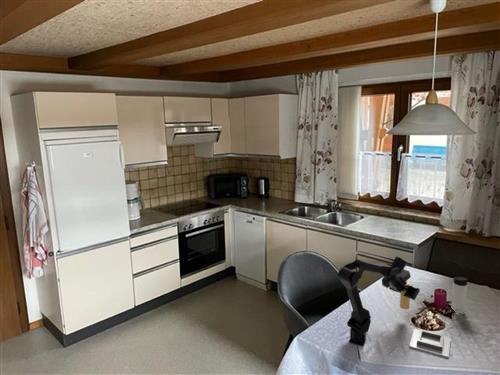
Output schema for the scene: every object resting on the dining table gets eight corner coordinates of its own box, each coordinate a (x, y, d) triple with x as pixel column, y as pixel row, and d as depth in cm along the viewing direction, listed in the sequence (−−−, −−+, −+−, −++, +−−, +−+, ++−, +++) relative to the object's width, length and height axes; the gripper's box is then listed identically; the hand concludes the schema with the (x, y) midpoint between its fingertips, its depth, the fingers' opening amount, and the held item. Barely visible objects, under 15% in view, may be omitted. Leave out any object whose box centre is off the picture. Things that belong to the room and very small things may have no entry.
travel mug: (458, 316, 193) (461, 281, 189) (448, 310, 199) (451, 275, 195) (467, 314, 194) (471, 279, 190) (457, 308, 200) (460, 274, 196)
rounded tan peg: (399, 307, 190) (400, 284, 187) (400, 303, 194) (401, 280, 191) (408, 310, 187) (410, 286, 185) (409, 305, 191) (411, 282, 189)
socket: (409, 347, 169) (409, 342, 168) (414, 329, 182) (414, 324, 182) (448, 358, 161) (449, 352, 160) (450, 339, 174) (451, 333, 174)
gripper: (418, 273, 176) (431, 288, 184) (386, 260, 192) (399, 275, 200) (407, 292, 174) (420, 307, 181) (375, 278, 189) (388, 292, 197)
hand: (406, 294), depth 190 cm, fingers closed on rounded tan peg, 5 cm apart
